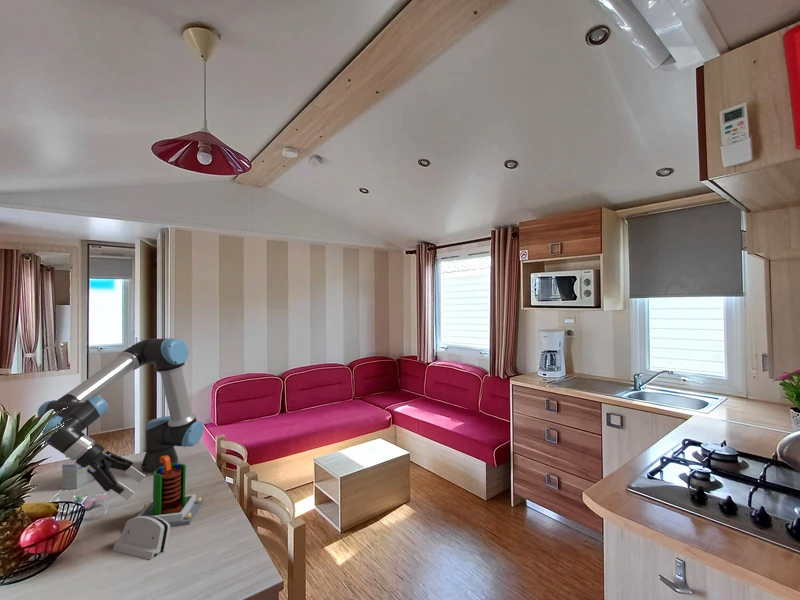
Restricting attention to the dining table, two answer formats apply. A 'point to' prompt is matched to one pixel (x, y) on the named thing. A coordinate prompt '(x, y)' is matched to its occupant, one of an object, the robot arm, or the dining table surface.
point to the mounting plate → (177, 518)
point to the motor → (168, 487)
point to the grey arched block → (143, 537)
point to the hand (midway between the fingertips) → (137, 487)
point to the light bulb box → (75, 475)
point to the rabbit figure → (91, 501)
